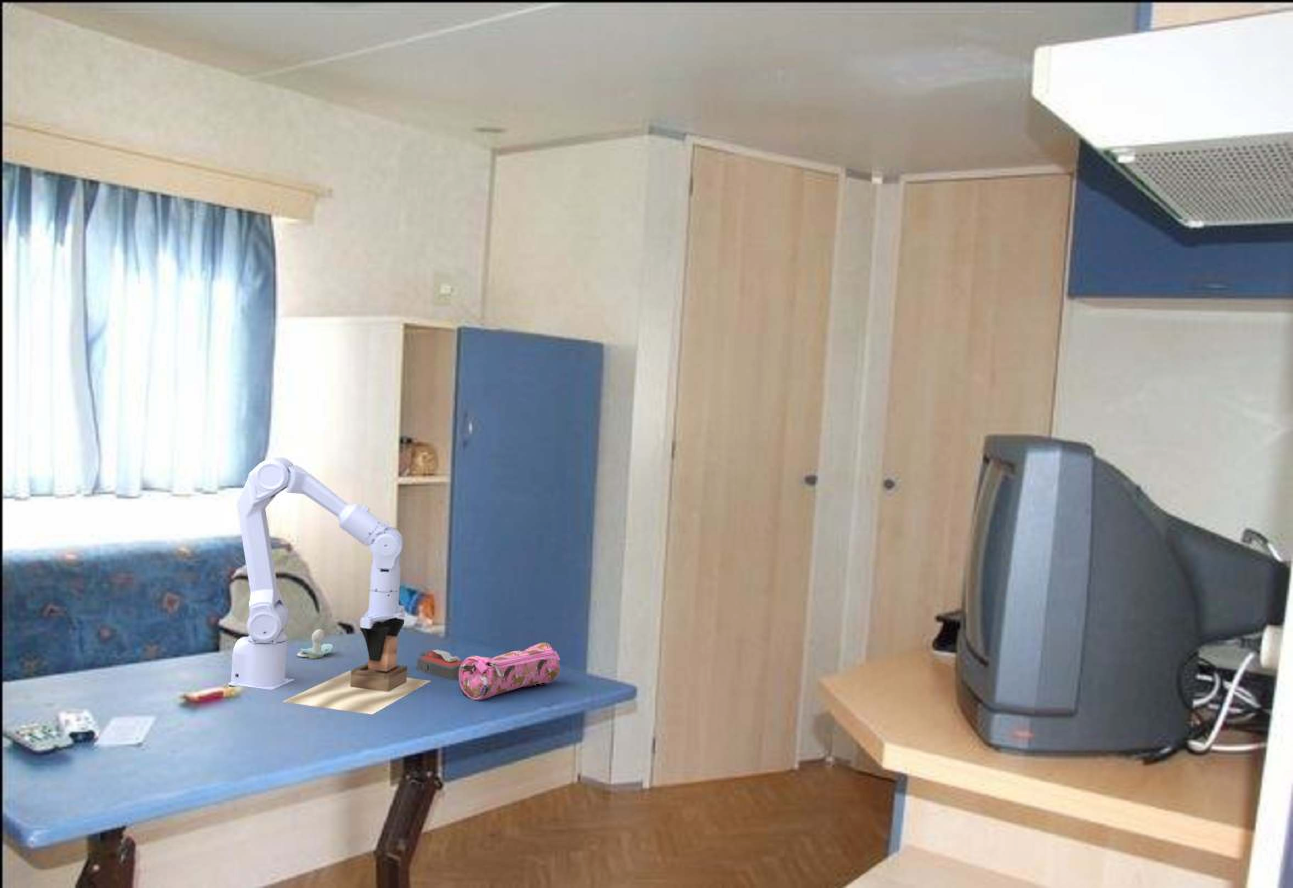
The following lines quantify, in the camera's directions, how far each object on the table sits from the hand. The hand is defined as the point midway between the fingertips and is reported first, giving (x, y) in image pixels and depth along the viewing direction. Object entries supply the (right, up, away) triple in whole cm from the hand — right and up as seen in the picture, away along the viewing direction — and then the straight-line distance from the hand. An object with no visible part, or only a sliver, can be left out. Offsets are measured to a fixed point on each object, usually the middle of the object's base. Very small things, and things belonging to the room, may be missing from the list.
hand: (380, 657), depth 202 cm
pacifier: (-20, -4, +21) cm, 30 cm away
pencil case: (+25, -8, +4) cm, 27 cm away
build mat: (-3, -6, -5) cm, 8 cm away
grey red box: (+8, -7, +18) cm, 20 cm away
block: (0, -2, 0) cm, 2 cm away
